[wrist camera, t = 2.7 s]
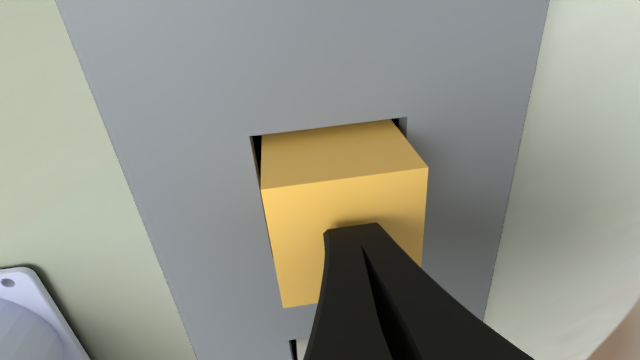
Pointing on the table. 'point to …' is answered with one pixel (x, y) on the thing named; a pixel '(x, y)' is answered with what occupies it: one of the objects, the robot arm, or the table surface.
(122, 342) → the table surface
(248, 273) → the panel
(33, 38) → the table surface
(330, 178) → the amber button
